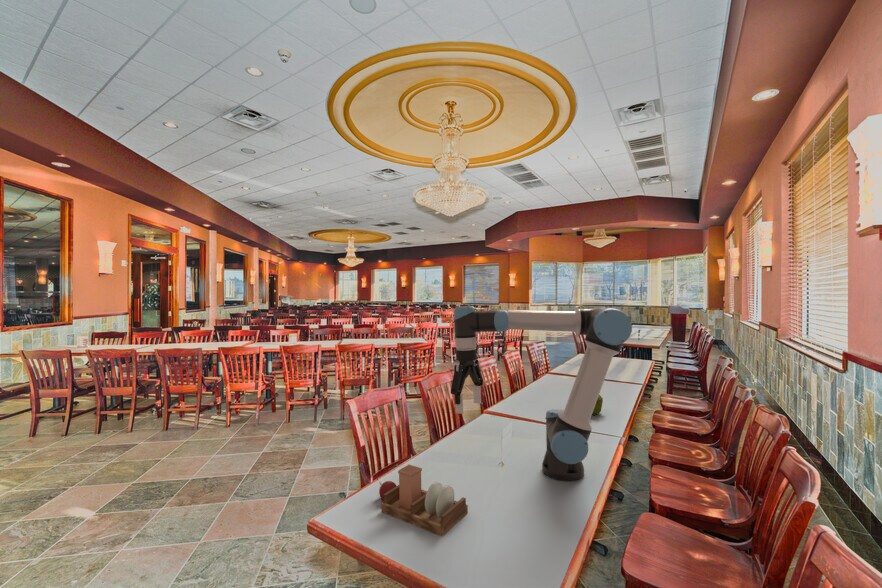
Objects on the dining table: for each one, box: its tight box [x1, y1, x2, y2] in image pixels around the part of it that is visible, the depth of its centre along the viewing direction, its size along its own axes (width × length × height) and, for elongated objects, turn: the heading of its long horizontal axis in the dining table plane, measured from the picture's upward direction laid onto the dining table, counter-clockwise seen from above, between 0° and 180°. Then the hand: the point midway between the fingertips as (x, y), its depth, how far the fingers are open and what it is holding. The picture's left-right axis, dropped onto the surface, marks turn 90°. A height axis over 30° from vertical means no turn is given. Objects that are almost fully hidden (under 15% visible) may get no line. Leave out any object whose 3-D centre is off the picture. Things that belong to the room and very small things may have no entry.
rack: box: [381, 484, 469, 537], centre depth 120 cm, size 23×14×5 cm, turn 55°
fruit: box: [376, 478, 397, 501], centre depth 130 cm, size 6×6×8 cm
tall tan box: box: [397, 464, 423, 509], centre depth 123 cm, size 5×5×11 cm
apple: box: [592, 394, 604, 416], centre depth 218 cm, size 12×12×11 cm
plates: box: [425, 481, 455, 518], centre depth 117 cm, size 5×9×9 cm, turn 145°
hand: (468, 408), depth 139 cm, fingers open, 13 cm apart
